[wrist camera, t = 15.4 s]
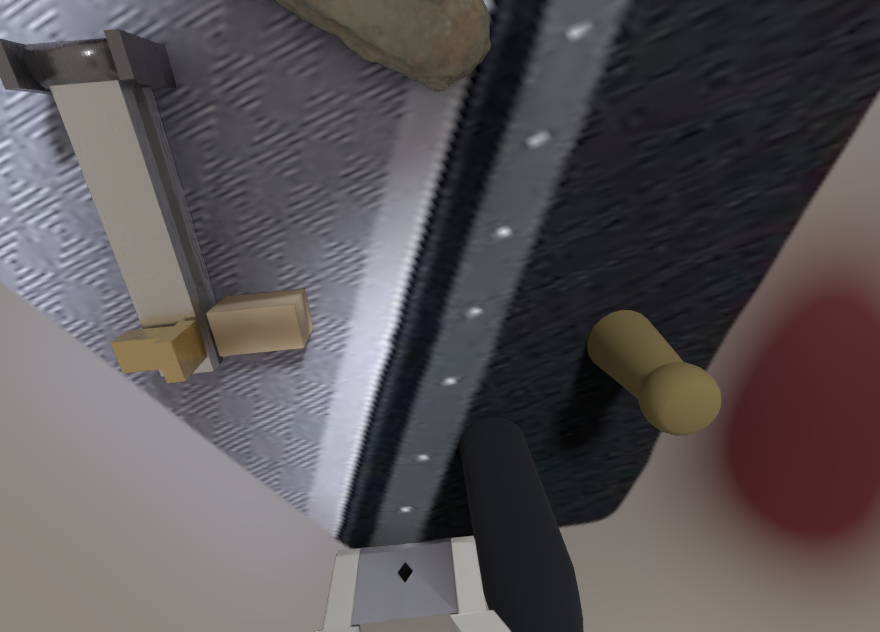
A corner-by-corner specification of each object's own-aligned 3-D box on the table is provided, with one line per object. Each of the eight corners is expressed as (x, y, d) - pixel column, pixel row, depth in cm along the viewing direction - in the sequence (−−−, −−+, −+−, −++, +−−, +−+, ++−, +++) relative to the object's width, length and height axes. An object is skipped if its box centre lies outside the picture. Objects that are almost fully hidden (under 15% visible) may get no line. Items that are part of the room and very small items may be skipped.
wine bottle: (497, 405, 41) (680, 972, 13) (536, 443, 43) (766, 1002, 15) (446, 443, 42) (516, 1030, 15) (487, 479, 44) (615, 1050, 17)
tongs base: (51, 54, 28) (-16, 39, 23) (164, 45, 28) (118, 29, 24) (165, 356, 37) (131, 386, 32) (250, 347, 37) (228, 377, 32)
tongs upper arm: (50, 48, 26) (16, 40, 24) (130, 42, 26) (103, 33, 24) (168, 365, 35) (151, 381, 33) (228, 359, 35) (215, 374, 33)
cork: (597, 379, 40) (660, 461, 30) (578, 327, 38) (639, 397, 28) (659, 353, 40) (745, 428, 30) (643, 298, 37) (730, 359, 27)
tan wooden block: (225, 296, 35) (206, 313, 32) (304, 288, 35) (293, 304, 32) (237, 336, 36) (219, 356, 33) (313, 328, 36) (303, 347, 33)
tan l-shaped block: (126, 326, 31) (92, 349, 28) (196, 319, 31) (170, 341, 28) (140, 363, 32) (110, 389, 29) (208, 356, 32) (185, 381, 29)
